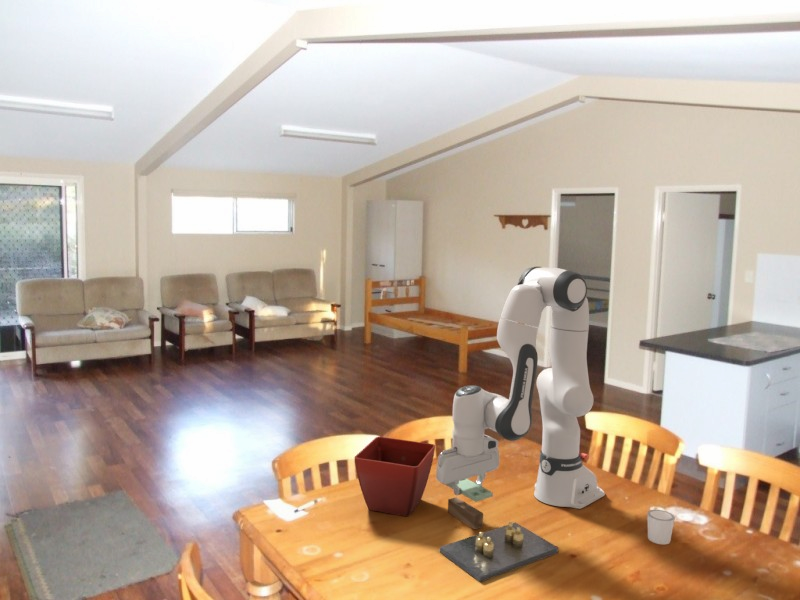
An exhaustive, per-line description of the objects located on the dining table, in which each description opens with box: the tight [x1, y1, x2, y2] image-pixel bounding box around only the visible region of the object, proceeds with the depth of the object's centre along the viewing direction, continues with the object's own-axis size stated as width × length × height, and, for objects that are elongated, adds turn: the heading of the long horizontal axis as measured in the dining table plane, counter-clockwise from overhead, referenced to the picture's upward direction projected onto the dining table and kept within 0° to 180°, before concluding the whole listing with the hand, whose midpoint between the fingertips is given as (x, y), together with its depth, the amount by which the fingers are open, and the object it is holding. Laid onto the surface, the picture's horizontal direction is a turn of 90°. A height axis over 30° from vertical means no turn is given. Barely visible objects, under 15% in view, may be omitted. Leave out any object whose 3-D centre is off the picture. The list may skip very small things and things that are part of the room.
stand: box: [447, 496, 484, 530], centre depth 189 cm, size 3×12×4 cm, turn 33°
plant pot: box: [354, 436, 436, 517], centre depth 196 cm, size 19×19×17 cm
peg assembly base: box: [439, 521, 559, 583], centre depth 170 cm, size 26×16×6 cm, turn 123°
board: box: [445, 478, 494, 503], centre depth 188 cm, size 14×6×1 cm, turn 33°
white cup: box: [646, 509, 675, 545], centre depth 179 cm, size 7×7×7 cm
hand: (468, 491), depth 188 cm, fingers closed on board, 6 cm apart
